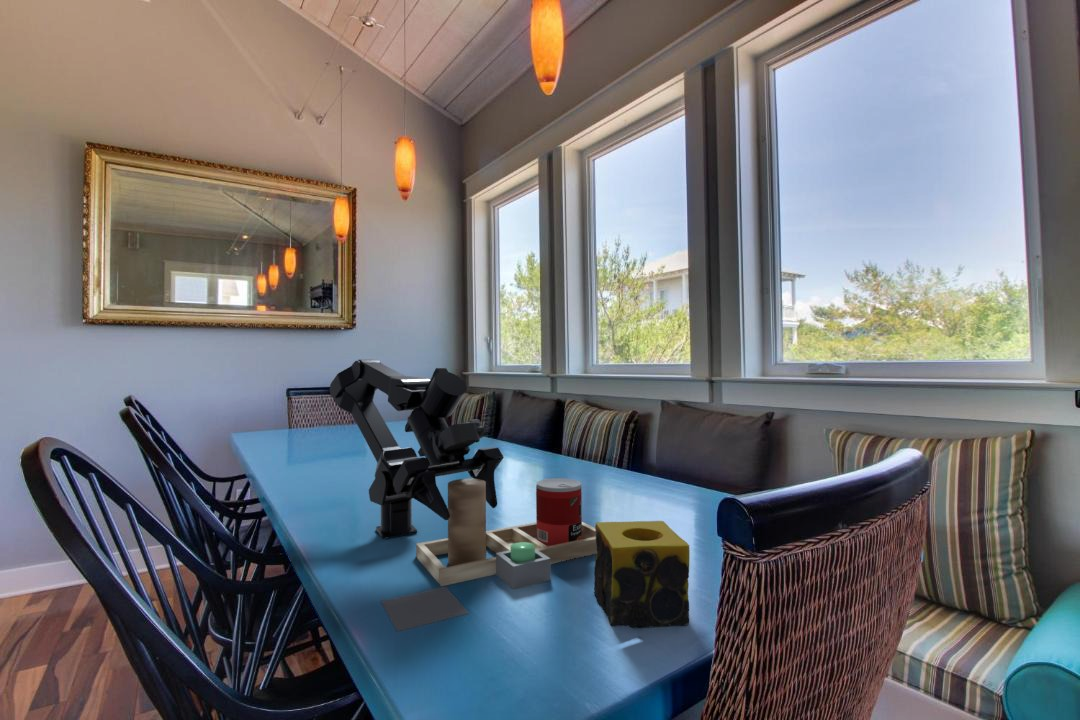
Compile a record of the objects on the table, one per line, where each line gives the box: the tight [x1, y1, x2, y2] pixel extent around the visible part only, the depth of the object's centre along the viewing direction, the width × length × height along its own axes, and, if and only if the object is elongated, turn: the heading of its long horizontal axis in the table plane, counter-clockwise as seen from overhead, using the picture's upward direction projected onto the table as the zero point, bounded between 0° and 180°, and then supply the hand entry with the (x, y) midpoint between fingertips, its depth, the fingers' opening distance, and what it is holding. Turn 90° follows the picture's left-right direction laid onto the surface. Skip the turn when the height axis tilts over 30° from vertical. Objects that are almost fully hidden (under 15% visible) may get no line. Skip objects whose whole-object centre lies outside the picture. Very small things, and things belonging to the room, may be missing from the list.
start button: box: [511, 542, 535, 564], centre depth 76 cm, size 4×4×3 cm
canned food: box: [535, 477, 583, 546], centre depth 90 cm, size 8×8×11 cm
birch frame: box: [415, 521, 597, 587], centre depth 86 cm, size 13×30×2 cm, turn 119°
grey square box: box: [495, 549, 552, 590], centre depth 76 cm, size 6×6×4 cm
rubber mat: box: [380, 586, 470, 633], centre depth 67 cm, size 9×9×1 cm
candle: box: [593, 520, 690, 629], centre depth 67 cm, size 10×10×10 cm
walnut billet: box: [447, 478, 487, 567], centre depth 82 cm, size 6×6×13 cm
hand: (472, 512), depth 81 cm, fingers open, 9 cm apart
